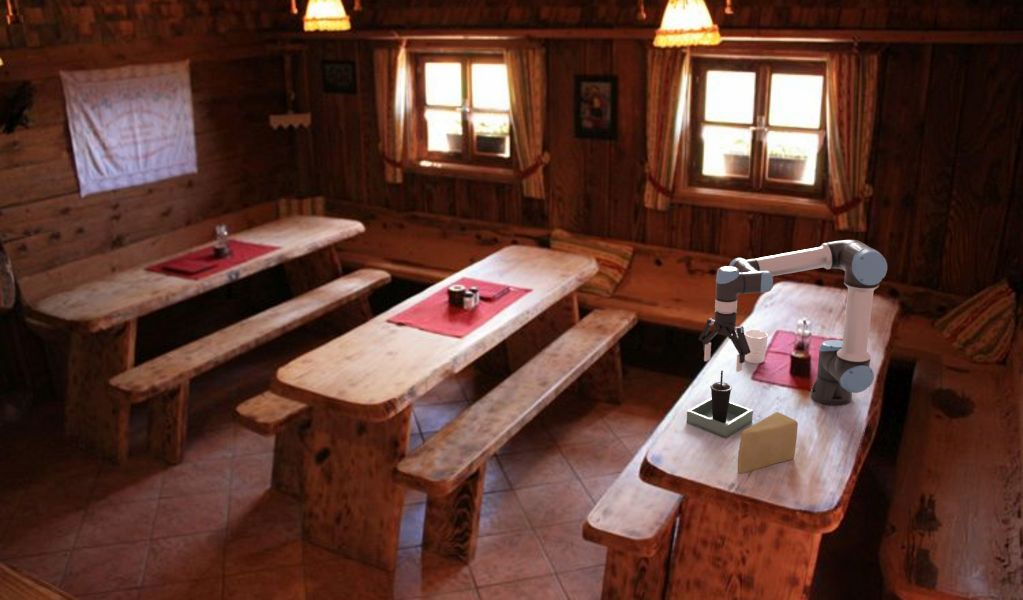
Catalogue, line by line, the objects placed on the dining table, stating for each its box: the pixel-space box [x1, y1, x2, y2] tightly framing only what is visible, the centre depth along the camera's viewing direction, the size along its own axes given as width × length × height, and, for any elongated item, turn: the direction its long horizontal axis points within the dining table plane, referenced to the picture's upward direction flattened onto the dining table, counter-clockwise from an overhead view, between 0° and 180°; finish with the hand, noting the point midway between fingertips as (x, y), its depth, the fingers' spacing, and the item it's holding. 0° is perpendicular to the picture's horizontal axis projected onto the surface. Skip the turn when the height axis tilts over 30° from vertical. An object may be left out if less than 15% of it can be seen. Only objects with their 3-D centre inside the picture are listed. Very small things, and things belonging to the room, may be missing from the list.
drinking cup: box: [710, 369, 733, 423], centre depth 323 cm, size 8×8×20 cm
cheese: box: [737, 411, 799, 474], centre depth 296 cm, size 22×10×15 cm, turn 122°
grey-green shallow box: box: [686, 396, 754, 439], centre depth 326 cm, size 17×17×5 cm
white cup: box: [744, 329, 769, 364], centre depth 377 cm, size 10×10×12 cm
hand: (723, 365), depth 319 cm, fingers open, 13 cm apart
